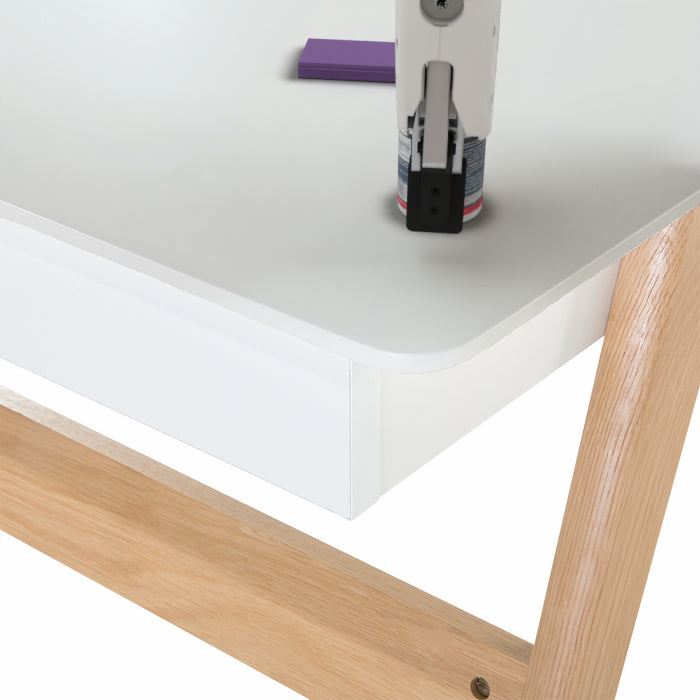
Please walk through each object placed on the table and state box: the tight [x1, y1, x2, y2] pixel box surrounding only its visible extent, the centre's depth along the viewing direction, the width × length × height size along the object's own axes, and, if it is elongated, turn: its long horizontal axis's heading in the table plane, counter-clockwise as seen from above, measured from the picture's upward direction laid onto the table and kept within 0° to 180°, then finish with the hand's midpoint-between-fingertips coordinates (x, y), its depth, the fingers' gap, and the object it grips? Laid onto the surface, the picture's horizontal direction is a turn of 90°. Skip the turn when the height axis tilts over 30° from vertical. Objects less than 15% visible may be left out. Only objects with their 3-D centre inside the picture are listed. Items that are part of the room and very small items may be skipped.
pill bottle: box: [396, 63, 487, 223], centre depth 74 cm, size 5×5×9 cm
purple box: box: [297, 37, 396, 83], centre depth 96 cm, size 12×6×1 cm, turn 83°
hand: (434, 225), depth 71 cm, fingers closed
